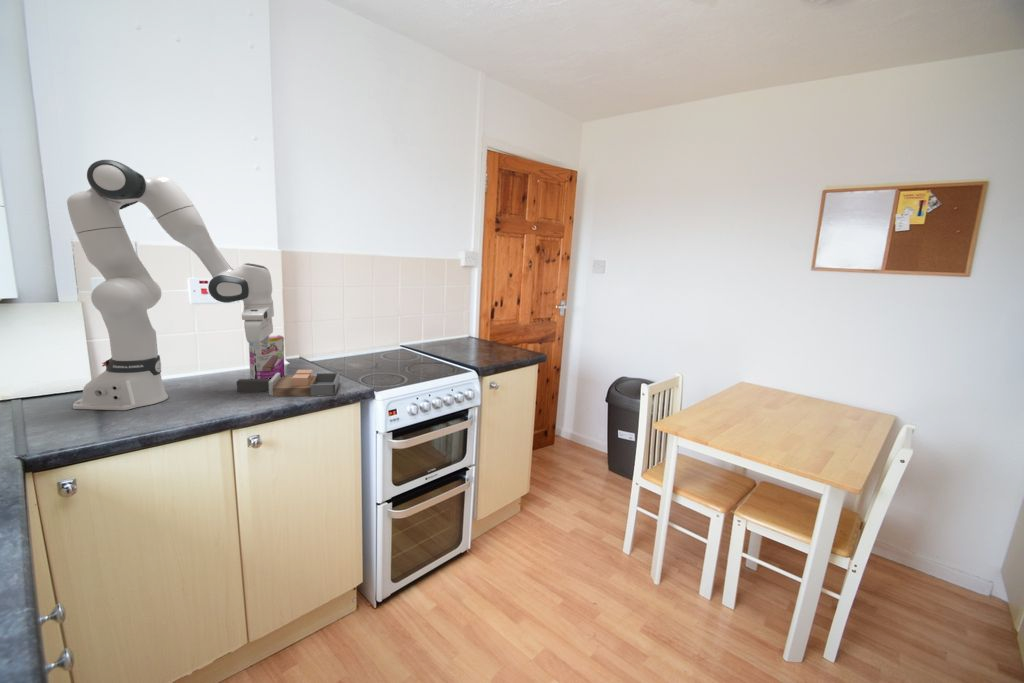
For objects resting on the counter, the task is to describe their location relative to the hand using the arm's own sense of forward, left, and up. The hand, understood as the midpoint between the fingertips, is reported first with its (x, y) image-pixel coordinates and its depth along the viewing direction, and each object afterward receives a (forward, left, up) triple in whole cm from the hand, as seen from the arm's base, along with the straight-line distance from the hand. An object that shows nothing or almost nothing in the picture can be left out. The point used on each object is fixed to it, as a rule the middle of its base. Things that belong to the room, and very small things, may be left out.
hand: (262, 350), depth 155 cm
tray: (+21, 0, -15) cm, 25 cm away
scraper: (-2, 0, -15) cm, 15 cm away
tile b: (+13, +3, -12) cm, 18 cm away
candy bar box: (-2, +17, -15) cm, 23 cm away
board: (+11, 0, -15) cm, 18 cm away
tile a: (+13, -3, -12) cm, 18 cm away
